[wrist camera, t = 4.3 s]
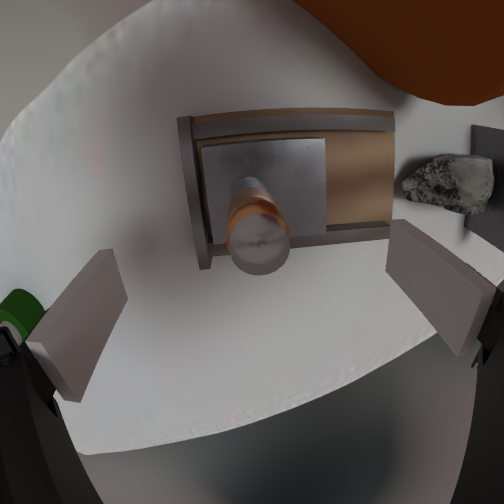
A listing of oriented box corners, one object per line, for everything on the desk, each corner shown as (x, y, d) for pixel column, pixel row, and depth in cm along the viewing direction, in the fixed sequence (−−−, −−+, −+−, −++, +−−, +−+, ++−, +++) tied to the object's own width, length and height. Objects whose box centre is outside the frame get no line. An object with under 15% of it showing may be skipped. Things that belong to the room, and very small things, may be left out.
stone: (473, 248, 21) (515, 163, 17) (393, 188, 25) (435, 108, 21) (460, 242, 29) (494, 177, 25) (399, 197, 33) (433, 134, 29)
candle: (40, 339, 36) (14, 381, 27) (5, 307, 33) (-26, 344, 24) (55, 315, 34) (23, 361, 25) (16, 278, 31) (-21, 317, 22)
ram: (205, 144, 25) (170, 168, 12) (313, 136, 25) (391, 153, 12) (216, 230, 28) (201, 325, 15) (316, 220, 29) (377, 304, 15)
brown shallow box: (183, 119, 25) (174, 118, 21) (388, 111, 25) (408, 111, 21) (202, 251, 31) (197, 269, 27) (385, 233, 31) (402, 248, 27)
